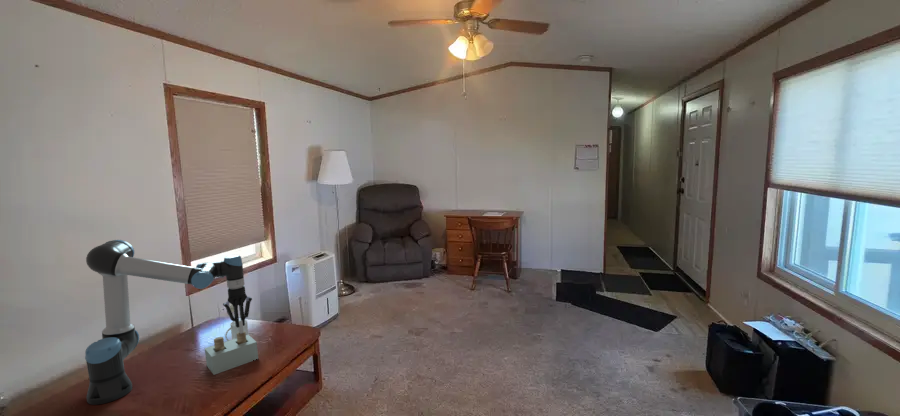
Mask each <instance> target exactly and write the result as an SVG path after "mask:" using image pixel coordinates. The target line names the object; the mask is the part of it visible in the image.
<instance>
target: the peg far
mask: <svg viewBox="0 0 900 416" xmlns="http://www.w3.org/2000/svg"><path fill="white" fill-rule="evenodd" d="M245 342H246V332H245V331H244V333H242V334H240V333H239V332H238V333H237V343H238V345H239V344H242V343H245Z"/></svg>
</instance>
